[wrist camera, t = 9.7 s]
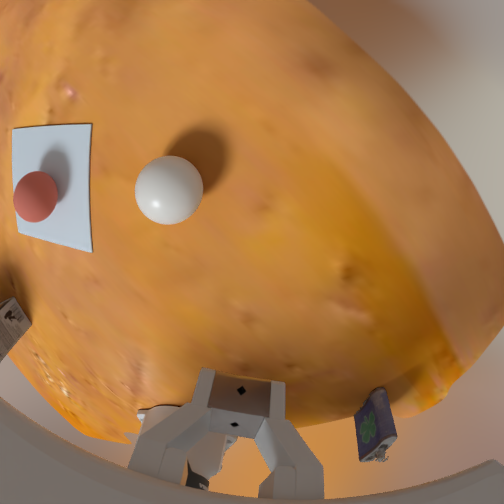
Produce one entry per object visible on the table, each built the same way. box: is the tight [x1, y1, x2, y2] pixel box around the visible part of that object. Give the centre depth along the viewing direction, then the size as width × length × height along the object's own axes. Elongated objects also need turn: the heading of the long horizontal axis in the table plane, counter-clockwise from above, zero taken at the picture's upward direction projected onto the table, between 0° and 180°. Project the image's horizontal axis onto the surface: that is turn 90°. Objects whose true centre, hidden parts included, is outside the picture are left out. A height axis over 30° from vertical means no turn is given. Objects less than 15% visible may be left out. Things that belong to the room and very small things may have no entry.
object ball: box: [13, 171, 58, 223], centre depth 22 cm, size 6×6×6 cm
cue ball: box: [135, 156, 203, 224], centre depth 21 cm, size 6×6×6 cm
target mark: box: [12, 124, 93, 253], centre depth 24 cm, size 14×14×1 cm
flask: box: [354, 387, 397, 462], centre depth 31 cm, size 9×3×11 cm, turn 172°
